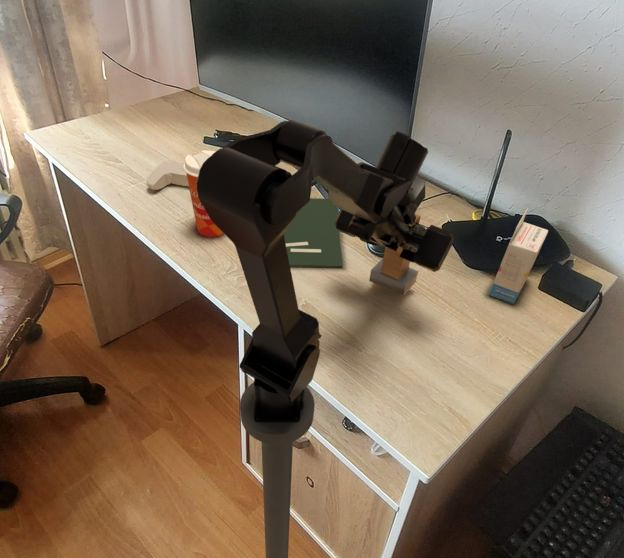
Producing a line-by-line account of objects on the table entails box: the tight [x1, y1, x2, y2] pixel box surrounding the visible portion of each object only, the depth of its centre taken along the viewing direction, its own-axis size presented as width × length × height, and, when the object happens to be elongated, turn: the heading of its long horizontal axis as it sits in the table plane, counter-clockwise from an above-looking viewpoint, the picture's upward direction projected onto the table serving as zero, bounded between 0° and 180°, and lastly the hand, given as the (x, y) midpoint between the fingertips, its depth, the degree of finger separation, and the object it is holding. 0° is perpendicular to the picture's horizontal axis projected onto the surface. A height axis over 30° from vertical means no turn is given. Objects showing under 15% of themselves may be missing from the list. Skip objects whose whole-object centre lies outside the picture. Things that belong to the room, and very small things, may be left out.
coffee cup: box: [183, 149, 225, 238], centre depth 101 cm, size 8×8×15 cm
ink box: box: [488, 207, 549, 305], centre depth 93 cm, size 8×5×15 cm, turn 149°
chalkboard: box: [284, 197, 344, 269], centre depth 108 cm, size 24×16×1 cm, turn 2°
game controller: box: [146, 160, 189, 191], centre depth 116 cm, size 14×4×10 cm
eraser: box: [369, 213, 422, 297], centre depth 90 cm, size 5×7×14 cm
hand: (403, 245), depth 91 cm, fingers closed on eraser, 3 cm apart
